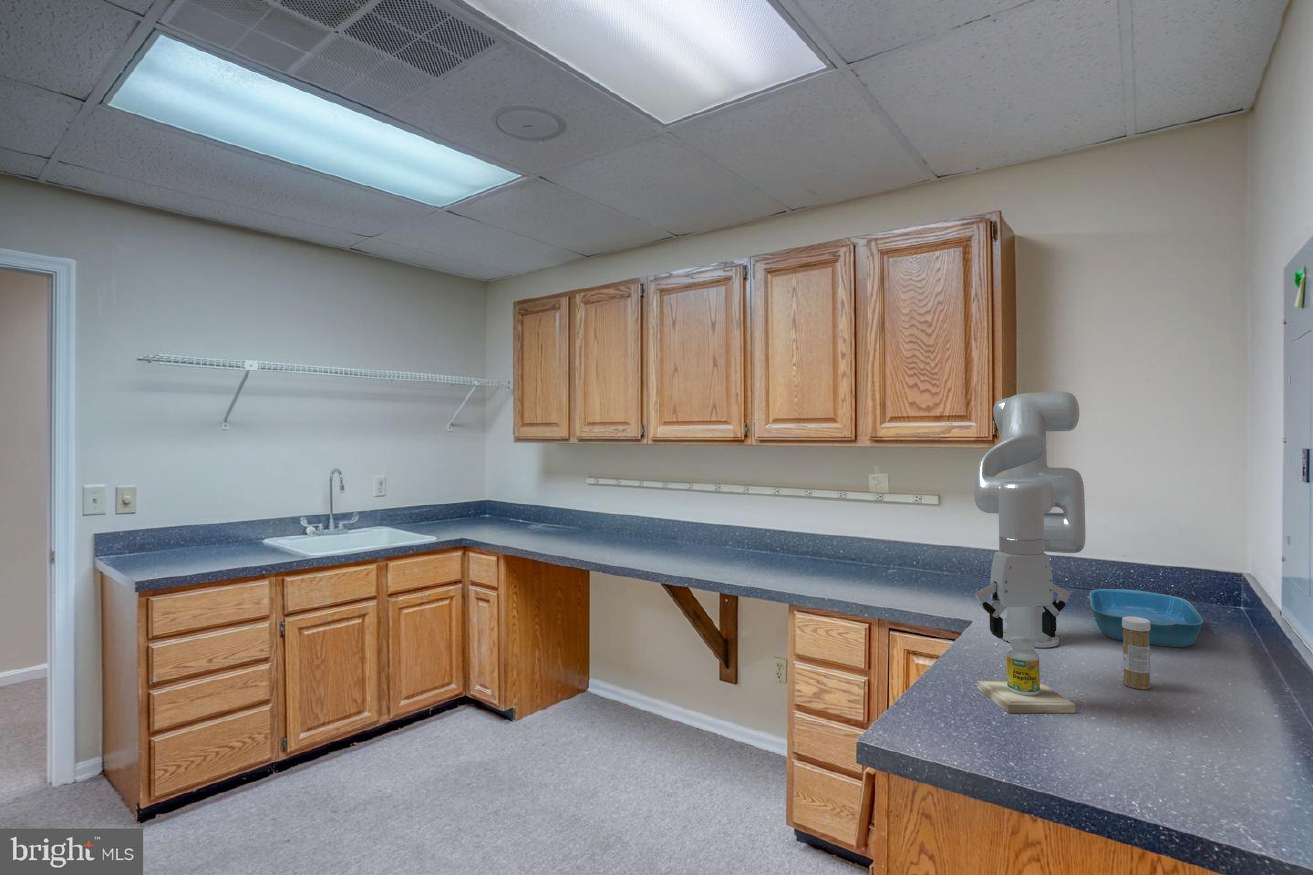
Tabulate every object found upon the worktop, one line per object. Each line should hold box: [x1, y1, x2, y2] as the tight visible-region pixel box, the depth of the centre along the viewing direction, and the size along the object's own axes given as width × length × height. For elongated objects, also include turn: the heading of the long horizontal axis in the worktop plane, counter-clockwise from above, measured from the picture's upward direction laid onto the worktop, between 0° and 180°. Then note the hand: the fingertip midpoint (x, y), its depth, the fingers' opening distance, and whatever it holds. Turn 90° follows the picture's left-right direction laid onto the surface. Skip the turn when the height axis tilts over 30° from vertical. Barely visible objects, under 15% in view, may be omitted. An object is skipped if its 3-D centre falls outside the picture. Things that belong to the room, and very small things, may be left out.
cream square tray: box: [976, 679, 1076, 714], centre depth 123 cm, size 12×12×2 cm
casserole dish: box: [1089, 588, 1204, 648], centre depth 168 cm, size 37×22×7 cm, turn 148°
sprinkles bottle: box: [1122, 616, 1152, 690], centre depth 130 cm, size 5×5×14 cm
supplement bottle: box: [1006, 637, 1041, 696], centre depth 123 cm, size 6×5×10 cm
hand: (1022, 635), depth 124 cm, fingers open, 9 cm apart
